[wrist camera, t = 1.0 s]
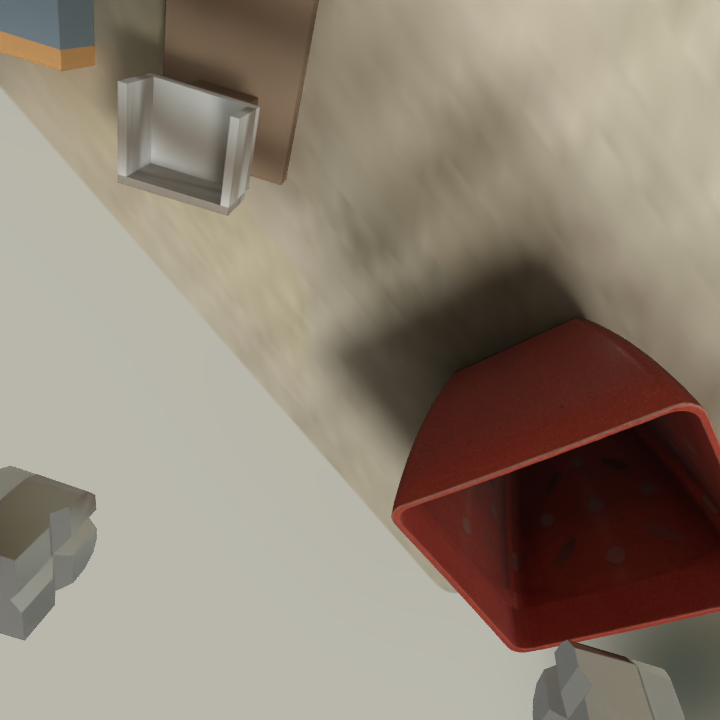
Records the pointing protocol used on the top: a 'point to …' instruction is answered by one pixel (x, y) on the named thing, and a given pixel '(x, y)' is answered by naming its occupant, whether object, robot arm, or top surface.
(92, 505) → the robot arm
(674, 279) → the top surface
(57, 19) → the rail
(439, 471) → the plant pot
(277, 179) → the stand
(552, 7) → the top surface
